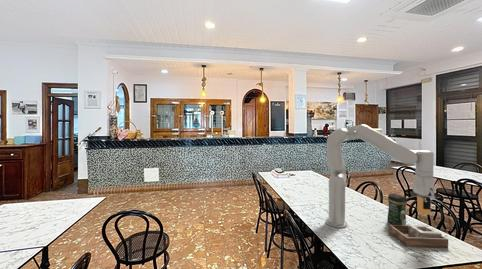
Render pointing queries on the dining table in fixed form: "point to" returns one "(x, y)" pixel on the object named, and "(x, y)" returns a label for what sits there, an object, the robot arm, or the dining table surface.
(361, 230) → the dining table surface
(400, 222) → the coffee jar
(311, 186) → the dining table surface
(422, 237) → the walled box
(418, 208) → the connector
